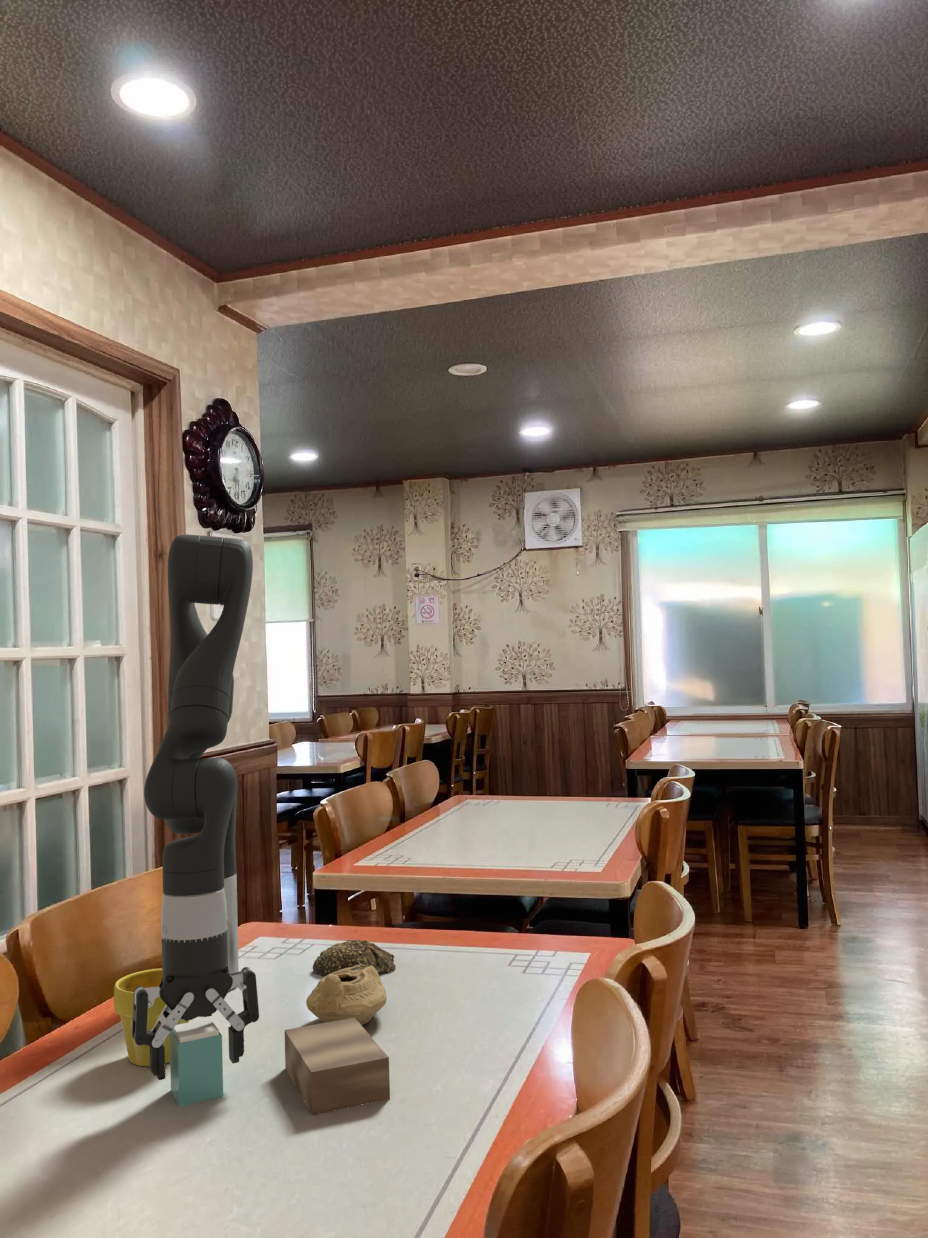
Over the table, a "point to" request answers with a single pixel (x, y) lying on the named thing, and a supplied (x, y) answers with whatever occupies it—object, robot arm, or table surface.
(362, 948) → the bread roll
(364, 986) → the oil lamp
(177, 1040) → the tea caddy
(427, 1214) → the table surface
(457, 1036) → the table surface
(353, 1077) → the brown rectangular block
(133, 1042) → the plant pot
